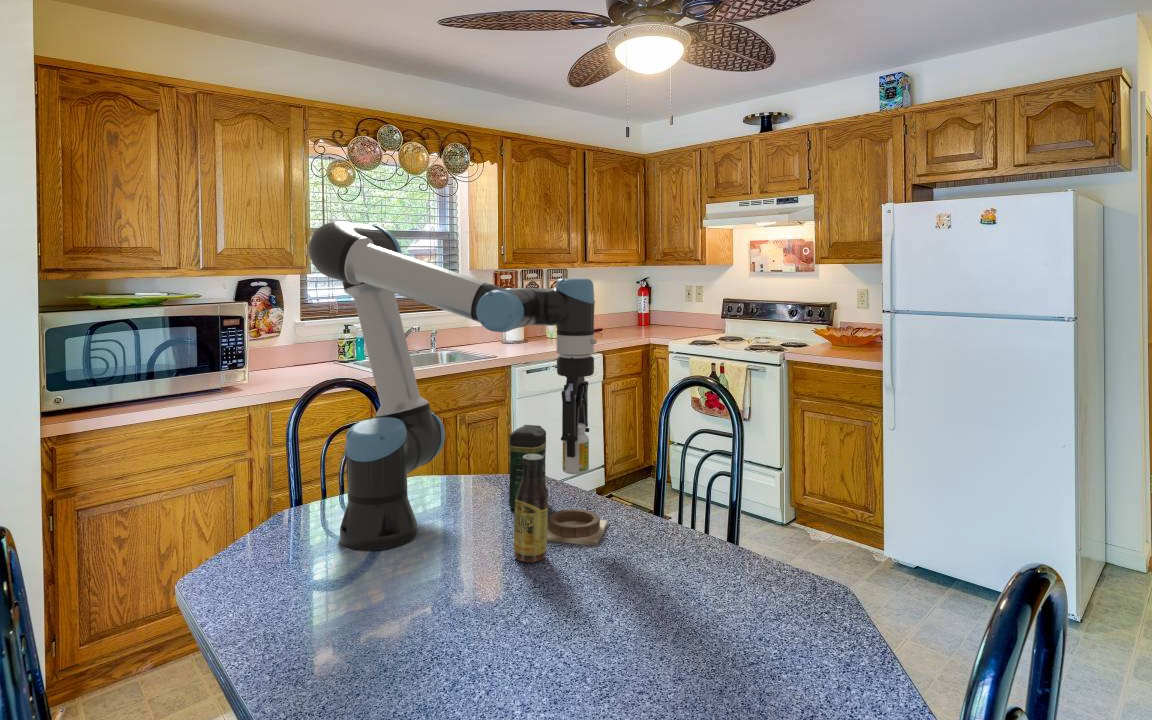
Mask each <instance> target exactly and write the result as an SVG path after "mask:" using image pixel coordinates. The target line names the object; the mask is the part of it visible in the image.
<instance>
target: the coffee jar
mask: <svg viewBox="0 0 1152 720" xmlns="http://www.w3.org/2000/svg"><path fill="white" fill-rule="evenodd" d="M508 441H509V442H508V443H509V445H508V446H509V486H508V488H509V491H508V506H509V508H510V509H514V510H515V498H516V495H517V492H518V489H519V486H520V483H521V480H522V476H523V465H522V457H523V456H524V455H526V454H539V455H542V456H543V457H544V464H543V470H542V476H543V478H542V479H543V482H544V485H545V486H546V453H547V450H546V449H547V431H546V429H544V428H543V427H542V426H541V425H534V424H524V425H523V426H521V427H519V428H516V429H515V430H513V431H512V432H511V433H510V434H509V440H508Z"/></svg>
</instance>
